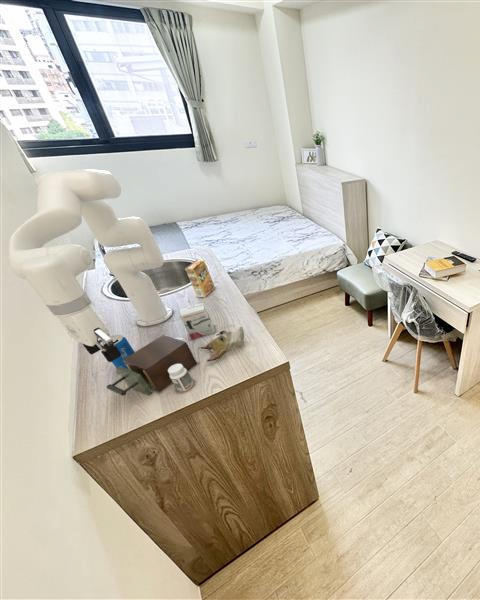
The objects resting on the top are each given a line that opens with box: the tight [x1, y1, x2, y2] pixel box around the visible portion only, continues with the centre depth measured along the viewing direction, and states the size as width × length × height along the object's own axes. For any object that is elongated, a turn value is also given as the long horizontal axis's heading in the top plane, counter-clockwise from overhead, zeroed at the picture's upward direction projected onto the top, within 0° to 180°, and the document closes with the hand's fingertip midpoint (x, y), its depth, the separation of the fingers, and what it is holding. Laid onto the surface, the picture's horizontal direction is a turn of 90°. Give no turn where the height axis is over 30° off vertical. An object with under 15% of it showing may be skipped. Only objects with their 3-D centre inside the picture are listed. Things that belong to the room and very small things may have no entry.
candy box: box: [184, 259, 216, 298], centre depth 147 cm, size 9×4×15 cm, turn 178°
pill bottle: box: [168, 364, 194, 392], centre depth 101 cm, size 5×5×8 cm
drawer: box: [106, 363, 156, 397], centre depth 101 cm, size 17×10×8 cm, turn 158°
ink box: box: [178, 302, 216, 341], centre depth 123 cm, size 8×5×12 cm, turn 123°
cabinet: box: [123, 334, 198, 393], centre depth 105 cm, size 14×11×10 cm
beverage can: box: [101, 334, 136, 369], centre depth 107 cm, size 6×6×12 cm
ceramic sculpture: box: [200, 326, 245, 363], centre depth 115 cm, size 11×9×15 cm
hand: (105, 354), depth 90 cm, fingers open, 7 cm apart
